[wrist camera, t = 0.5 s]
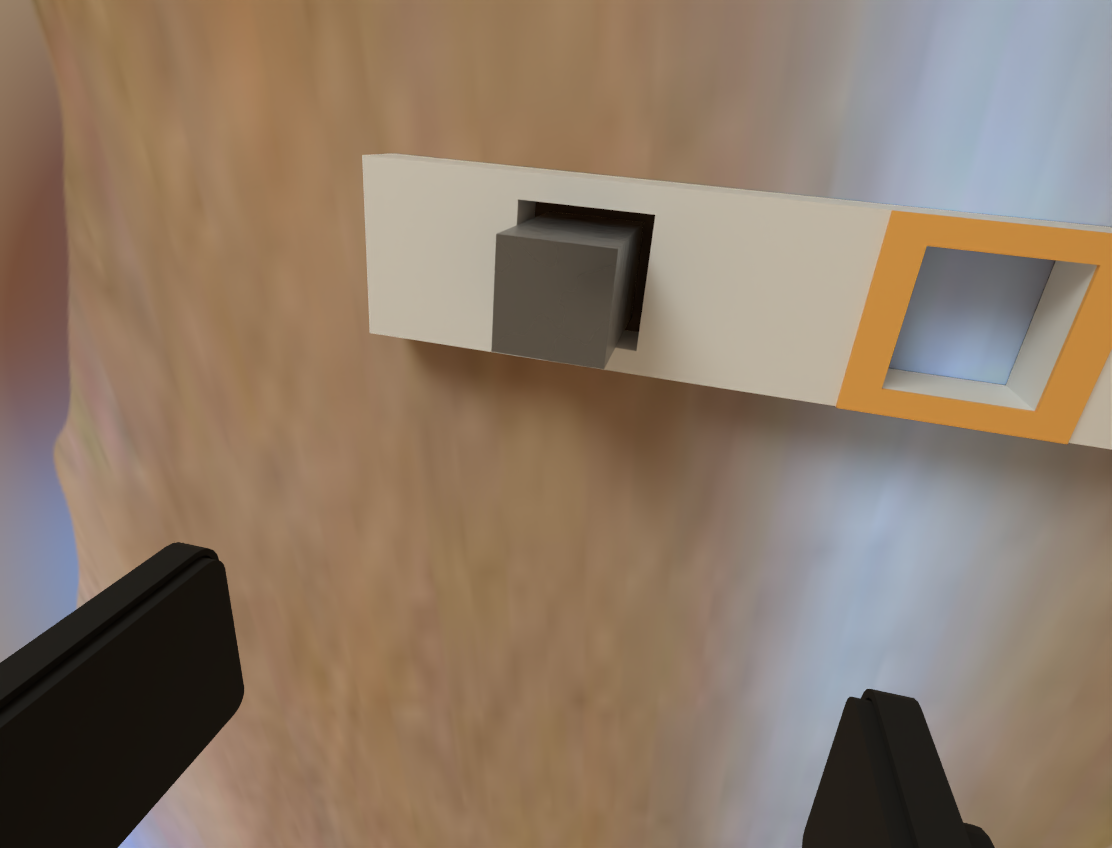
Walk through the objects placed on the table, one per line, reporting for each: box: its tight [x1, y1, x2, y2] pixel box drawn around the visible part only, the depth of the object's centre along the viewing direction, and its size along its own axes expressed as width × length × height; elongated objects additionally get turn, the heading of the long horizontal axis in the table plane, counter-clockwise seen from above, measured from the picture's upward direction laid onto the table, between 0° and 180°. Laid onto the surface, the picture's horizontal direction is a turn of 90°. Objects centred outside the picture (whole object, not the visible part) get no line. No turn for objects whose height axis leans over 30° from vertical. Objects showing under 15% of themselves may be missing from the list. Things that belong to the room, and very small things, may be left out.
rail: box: [362, 154, 1112, 450], centre depth 28 cm, size 8×36×3 cm, turn 85°
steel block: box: [491, 211, 644, 369], centre depth 27 cm, size 4×4×8 cm
